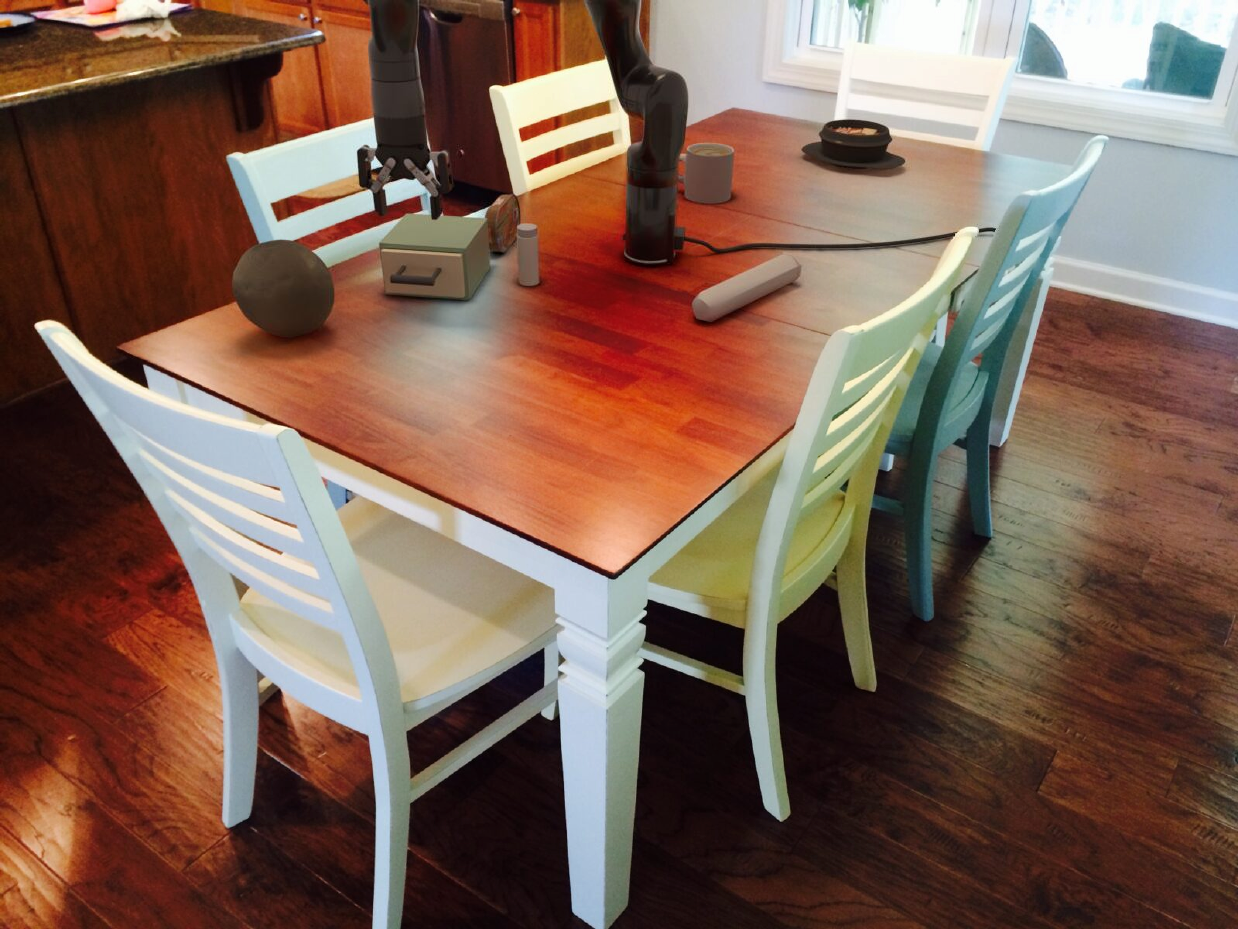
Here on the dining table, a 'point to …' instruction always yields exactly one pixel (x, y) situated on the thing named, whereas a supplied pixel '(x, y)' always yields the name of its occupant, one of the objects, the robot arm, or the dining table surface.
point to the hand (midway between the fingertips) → (409, 216)
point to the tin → (503, 222)
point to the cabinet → (445, 244)
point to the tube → (746, 287)
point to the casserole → (854, 145)
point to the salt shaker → (528, 254)
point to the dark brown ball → (283, 288)
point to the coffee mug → (707, 172)
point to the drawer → (423, 272)
